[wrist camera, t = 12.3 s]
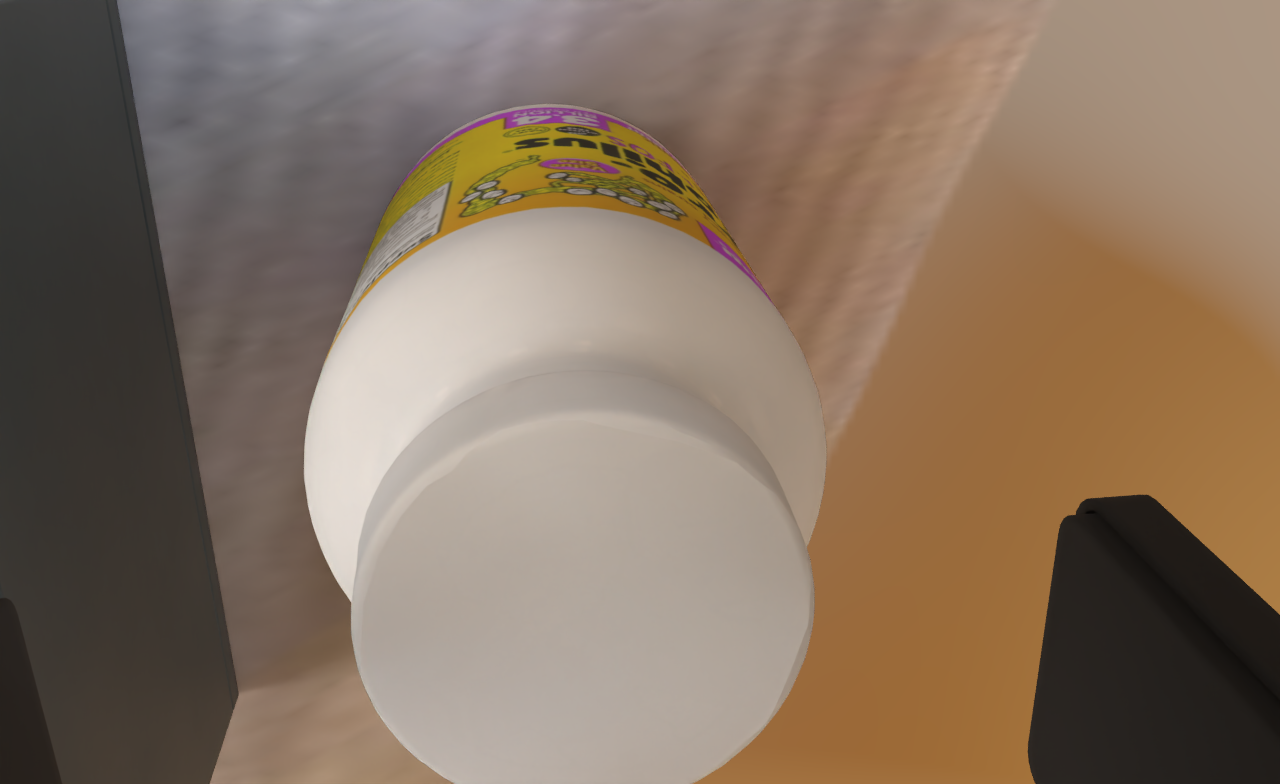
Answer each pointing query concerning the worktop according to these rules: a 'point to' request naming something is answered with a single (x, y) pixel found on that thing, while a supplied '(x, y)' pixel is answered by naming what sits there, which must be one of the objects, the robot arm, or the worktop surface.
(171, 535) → the dark grey open box
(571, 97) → the worktop surface
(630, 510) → the supplement bottle
